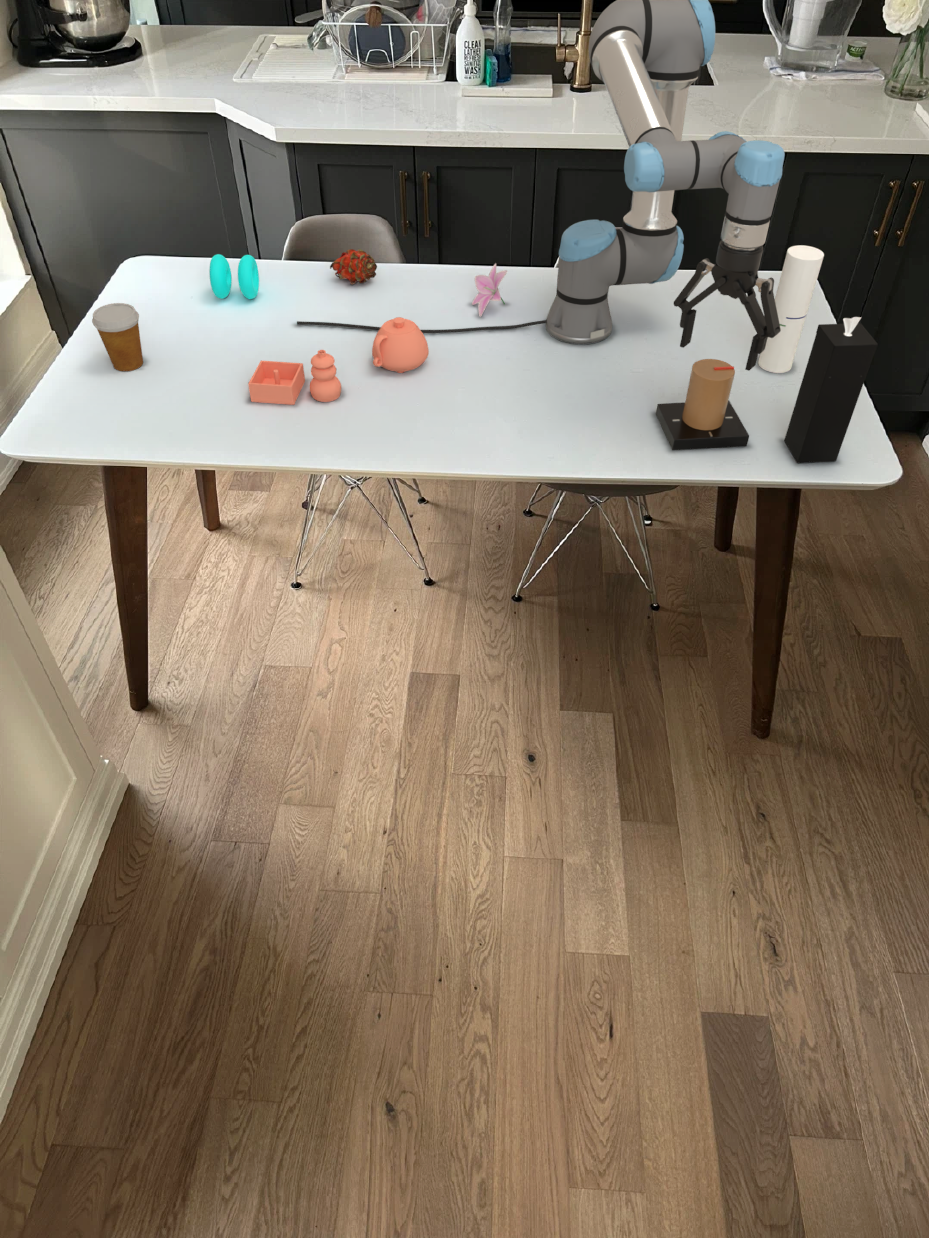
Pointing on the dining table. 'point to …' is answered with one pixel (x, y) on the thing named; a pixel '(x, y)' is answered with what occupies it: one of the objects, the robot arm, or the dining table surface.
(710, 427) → the tan pointer knob
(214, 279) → the donuts
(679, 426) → the control knob panel
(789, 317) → the cylindrical container
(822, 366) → the tissue box
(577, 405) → the dining table surface
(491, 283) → the lily
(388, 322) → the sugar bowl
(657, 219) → the robot arm
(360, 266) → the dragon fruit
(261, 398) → the terracotta box and gourd
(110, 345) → the disposable coffee cup
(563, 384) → the dining table surface
